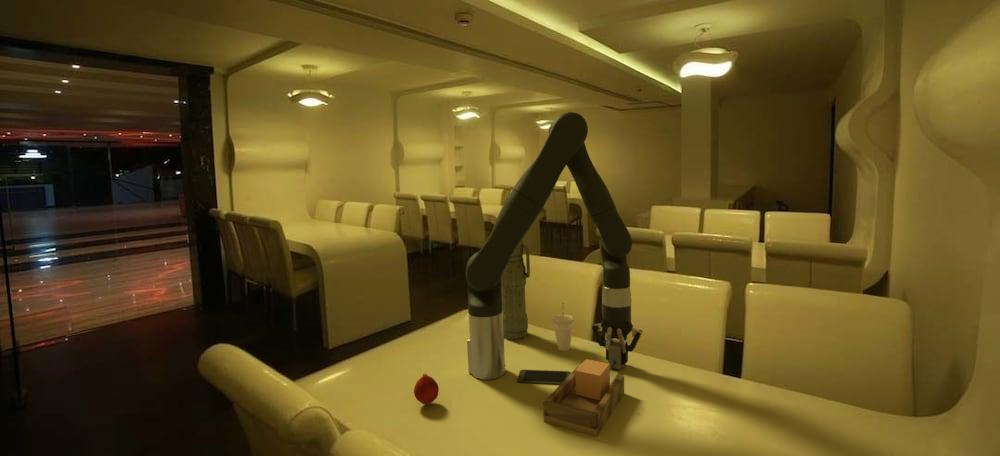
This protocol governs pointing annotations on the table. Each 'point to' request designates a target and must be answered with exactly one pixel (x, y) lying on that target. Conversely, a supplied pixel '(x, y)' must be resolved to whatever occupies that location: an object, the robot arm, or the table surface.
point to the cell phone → (542, 377)
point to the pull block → (597, 374)
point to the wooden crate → (581, 406)
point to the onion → (426, 389)
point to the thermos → (515, 294)
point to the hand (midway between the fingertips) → (617, 362)
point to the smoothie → (563, 330)
